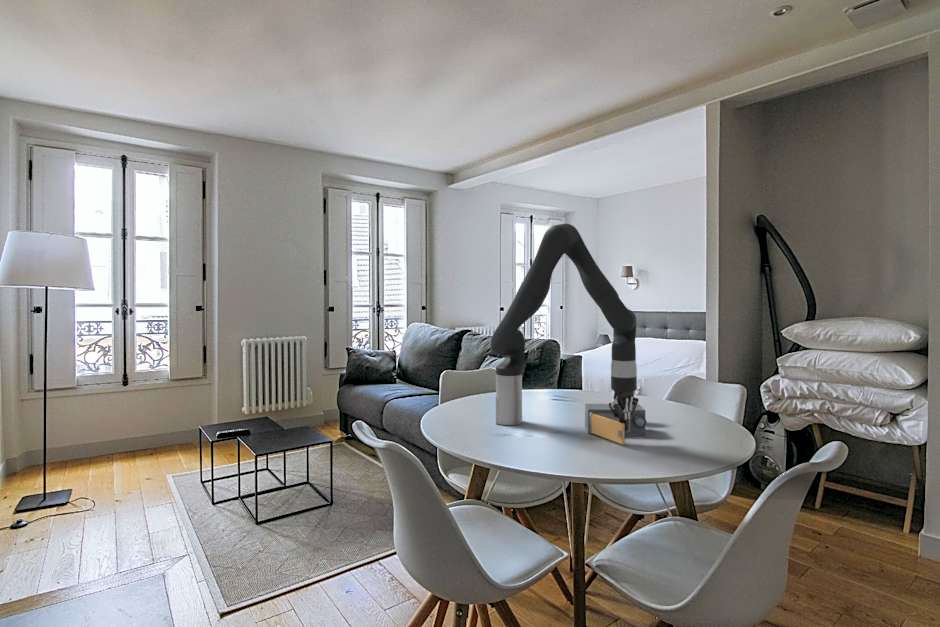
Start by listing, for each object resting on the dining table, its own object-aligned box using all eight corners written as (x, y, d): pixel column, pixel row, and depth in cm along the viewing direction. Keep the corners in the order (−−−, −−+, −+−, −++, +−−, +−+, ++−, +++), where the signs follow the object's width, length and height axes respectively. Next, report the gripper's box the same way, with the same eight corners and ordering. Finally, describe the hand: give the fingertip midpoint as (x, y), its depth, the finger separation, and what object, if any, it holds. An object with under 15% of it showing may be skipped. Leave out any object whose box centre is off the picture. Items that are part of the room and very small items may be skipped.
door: (587, 433, 165) (587, 412, 164) (592, 432, 165) (592, 412, 165) (620, 445, 151) (620, 422, 151) (625, 445, 152) (625, 422, 151)
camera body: (588, 435, 164) (589, 408, 164) (584, 426, 175) (584, 401, 174) (646, 436, 162) (646, 409, 162) (638, 427, 173) (639, 402, 173)
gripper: (622, 378, 148) (622, 437, 148) (646, 373, 156) (646, 429, 157) (600, 375, 153) (600, 432, 154) (625, 370, 162) (625, 424, 163)
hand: (624, 430), depth 155 cm, fingers closed
